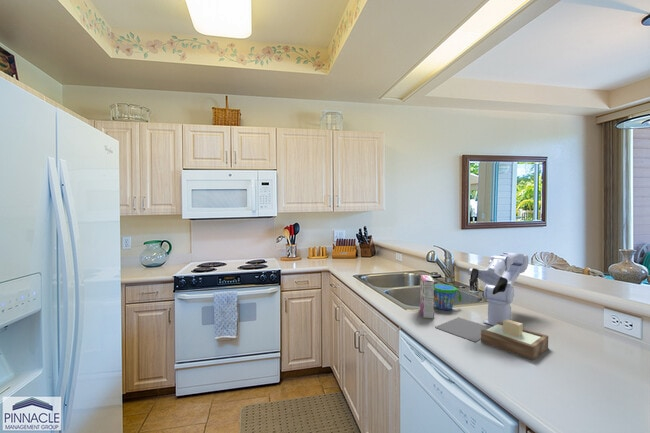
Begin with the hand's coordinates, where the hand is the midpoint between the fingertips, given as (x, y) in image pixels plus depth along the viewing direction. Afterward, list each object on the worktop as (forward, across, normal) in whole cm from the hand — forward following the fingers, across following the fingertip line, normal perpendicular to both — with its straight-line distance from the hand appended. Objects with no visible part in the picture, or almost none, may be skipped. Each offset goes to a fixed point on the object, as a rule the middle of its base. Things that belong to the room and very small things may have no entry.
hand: (482, 287), depth 109 cm
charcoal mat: (0, -3, +21) cm, 21 cm away
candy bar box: (-4, -20, +26) cm, 33 cm away
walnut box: (+2, +14, +16) cm, 21 cm away
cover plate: (+1, +12, +14) cm, 18 cm away
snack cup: (-18, -18, +30) cm, 39 cm away
